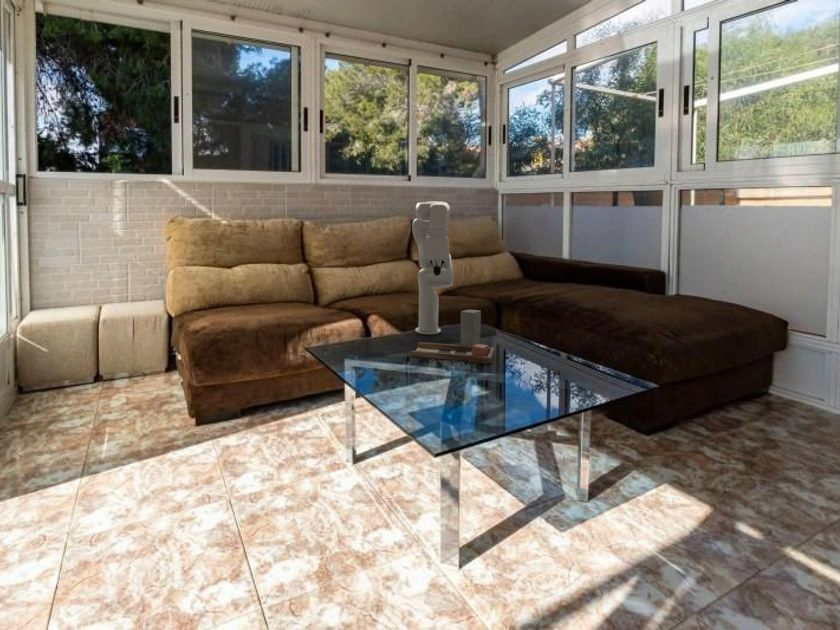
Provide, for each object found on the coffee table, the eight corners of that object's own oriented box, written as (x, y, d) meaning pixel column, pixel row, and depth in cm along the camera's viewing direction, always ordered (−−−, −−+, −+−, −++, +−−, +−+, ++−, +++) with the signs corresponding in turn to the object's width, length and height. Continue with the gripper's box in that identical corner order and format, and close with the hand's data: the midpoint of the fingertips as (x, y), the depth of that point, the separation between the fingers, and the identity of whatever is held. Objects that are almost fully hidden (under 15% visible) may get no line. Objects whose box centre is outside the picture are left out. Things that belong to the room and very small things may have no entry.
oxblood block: (476, 354, 236) (477, 343, 235) (487, 356, 233) (488, 345, 232) (471, 357, 231) (472, 346, 230) (483, 359, 229) (483, 348, 228)
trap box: (418, 347, 247) (418, 342, 246) (493, 353, 240) (494, 347, 240) (411, 357, 232) (411, 351, 232) (490, 363, 226) (491, 357, 225)
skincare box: (472, 347, 248) (473, 313, 245) (458, 345, 252) (459, 311, 249) (481, 343, 255) (482, 310, 252) (467, 341, 259) (468, 308, 256)
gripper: (419, 233, 238) (418, 275, 242) (453, 234, 235) (452, 277, 239) (422, 231, 245) (422, 273, 249) (456, 233, 242) (455, 274, 246)
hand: (437, 275), depth 244 cm, fingers closed
